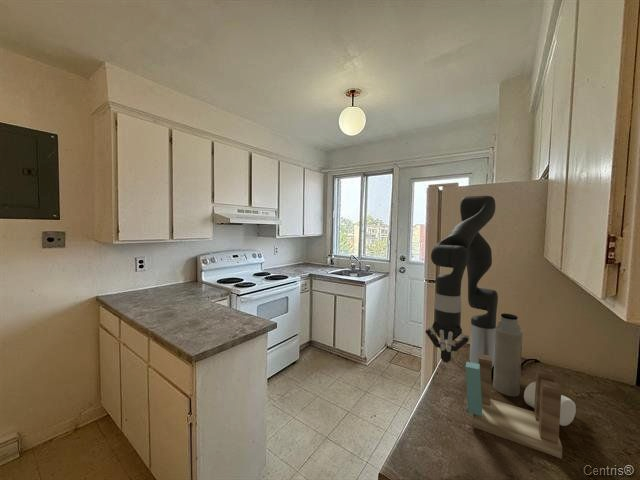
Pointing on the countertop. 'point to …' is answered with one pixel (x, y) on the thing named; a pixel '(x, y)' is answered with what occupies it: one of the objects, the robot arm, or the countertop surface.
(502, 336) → the thermos bottle
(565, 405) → the mug
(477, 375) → the folding leg
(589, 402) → the countertop surface
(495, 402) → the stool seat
